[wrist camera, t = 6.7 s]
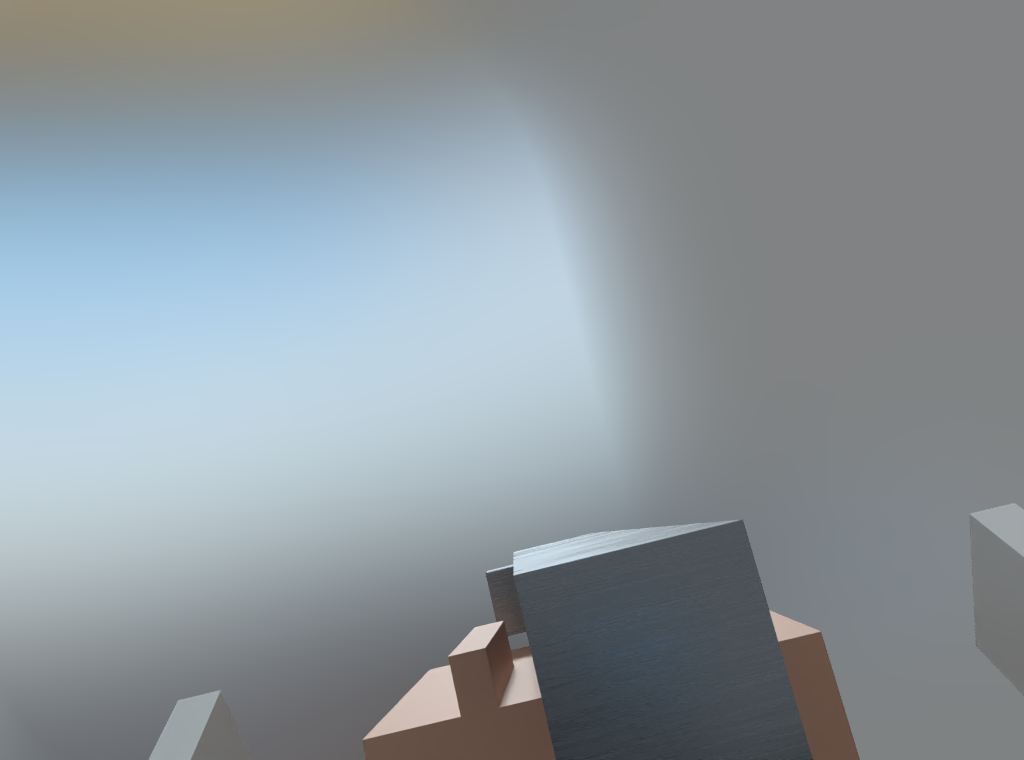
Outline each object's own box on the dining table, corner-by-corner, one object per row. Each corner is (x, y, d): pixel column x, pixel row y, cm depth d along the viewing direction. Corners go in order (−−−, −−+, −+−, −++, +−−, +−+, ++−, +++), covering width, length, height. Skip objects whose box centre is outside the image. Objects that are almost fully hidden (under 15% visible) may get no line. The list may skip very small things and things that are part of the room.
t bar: (483, 854, 11) (429, 596, 11) (503, 642, 32) (485, 558, 33) (900, 745, 11) (823, 499, 12) (642, 608, 33) (621, 526, 33)
